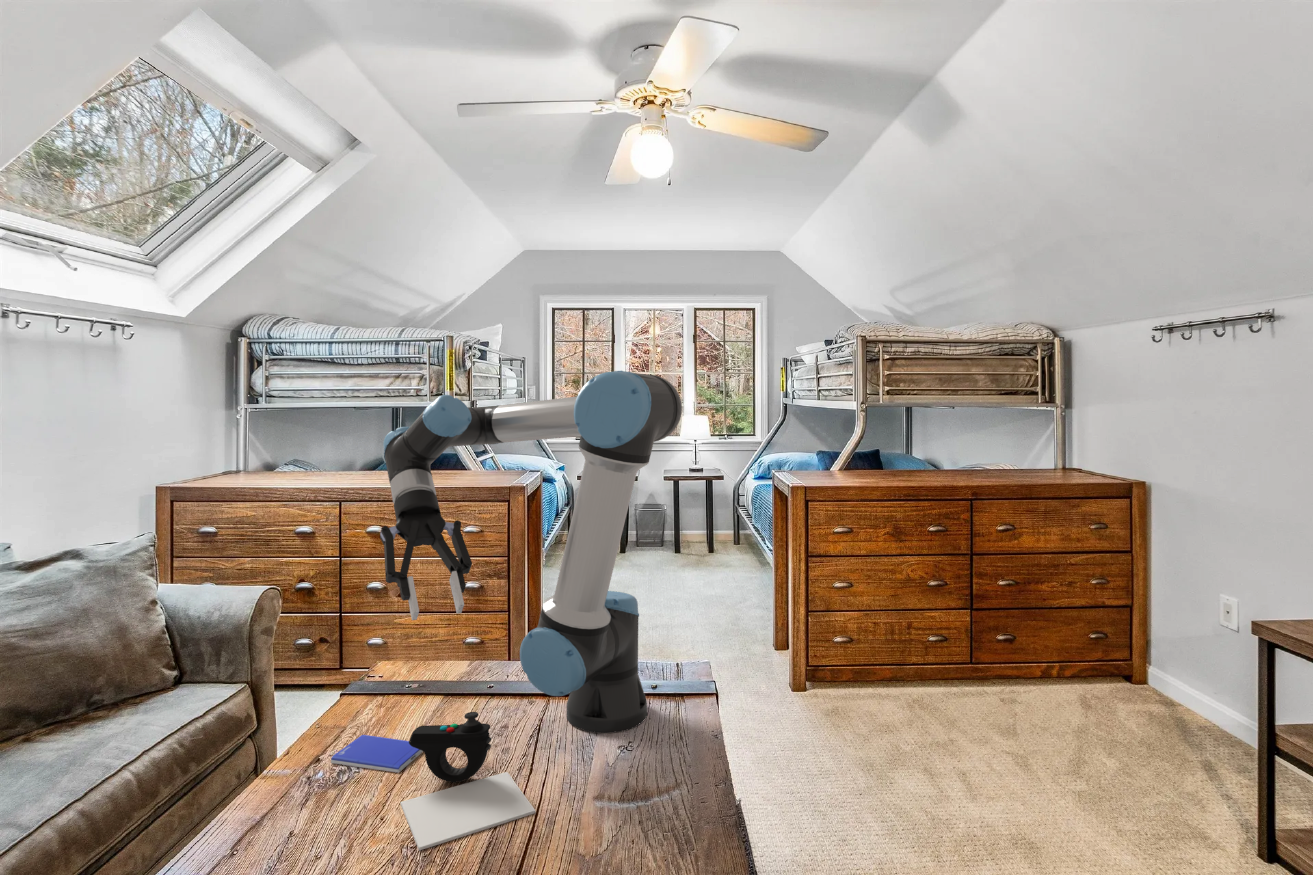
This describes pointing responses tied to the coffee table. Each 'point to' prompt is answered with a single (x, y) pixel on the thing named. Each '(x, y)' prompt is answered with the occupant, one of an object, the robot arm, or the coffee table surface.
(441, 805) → the grey mat
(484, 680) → the coffee table surface
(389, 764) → the hard drive
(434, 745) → the controller
